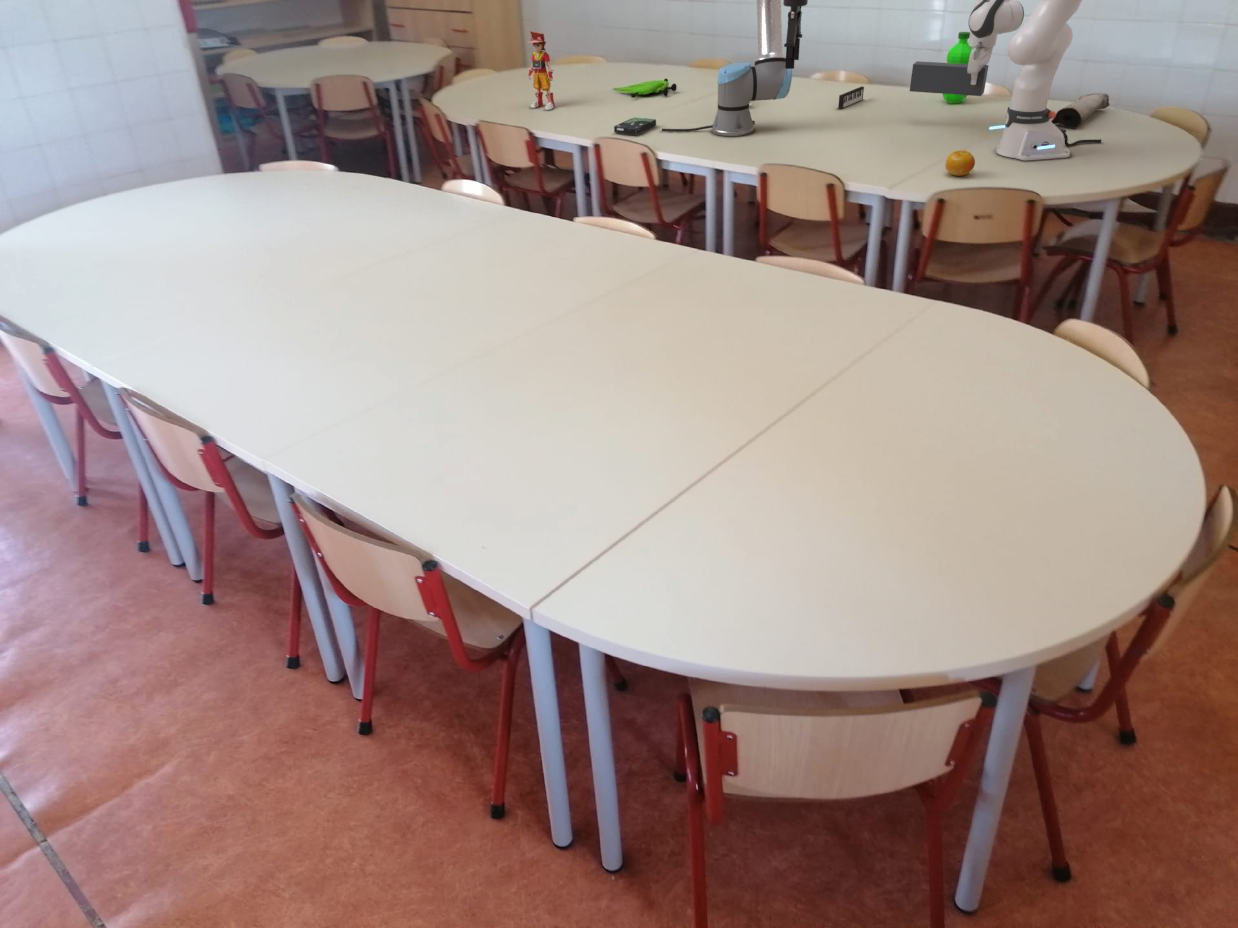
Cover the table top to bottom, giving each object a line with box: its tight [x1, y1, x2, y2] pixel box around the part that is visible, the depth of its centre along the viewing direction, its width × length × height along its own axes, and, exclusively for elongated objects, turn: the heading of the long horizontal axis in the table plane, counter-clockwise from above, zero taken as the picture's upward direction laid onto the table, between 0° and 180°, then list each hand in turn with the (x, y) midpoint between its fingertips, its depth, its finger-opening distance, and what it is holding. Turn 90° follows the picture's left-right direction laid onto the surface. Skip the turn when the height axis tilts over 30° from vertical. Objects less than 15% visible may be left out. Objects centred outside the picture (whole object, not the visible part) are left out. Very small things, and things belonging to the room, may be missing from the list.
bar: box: [909, 60, 990, 97], centre depth 321 cm, size 25×5×9 cm, turn 60°
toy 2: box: [612, 78, 677, 99], centre depth 396 cm, size 28×5×30 cm
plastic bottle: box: [942, 31, 972, 104], centre depth 348 cm, size 10×10×25 cm
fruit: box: [944, 150, 976, 177], centre depth 280 cm, size 8×8×8 cm
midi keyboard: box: [837, 85, 865, 110], centre depth 359 cm, size 18×1×5 cm, turn 138°
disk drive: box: [613, 116, 657, 136], centre depth 344 cm, size 10×3×15 cm
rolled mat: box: [1051, 92, 1110, 129], centre depth 325 cm, size 30×9×10 cm
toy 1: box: [527, 31, 556, 111], centre depth 374 cm, size 12×9×30 cm
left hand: (792, 64), depth 293 cm, fingers open, 13 cm apart
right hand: (975, 82), depth 317 cm, fingers closed on bar, 5 cm apart
